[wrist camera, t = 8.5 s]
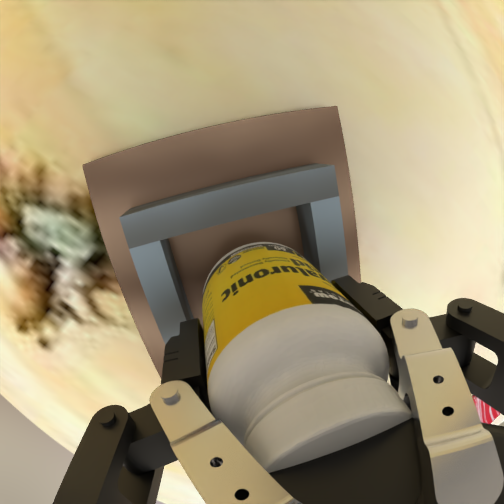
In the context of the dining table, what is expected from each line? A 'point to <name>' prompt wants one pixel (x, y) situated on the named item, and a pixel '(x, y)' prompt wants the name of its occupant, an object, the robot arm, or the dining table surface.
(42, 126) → the dining table surface
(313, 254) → the cradle board
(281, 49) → the dining table surface
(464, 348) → the robot arm
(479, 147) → the dining table surface
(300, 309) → the supplement bottle
